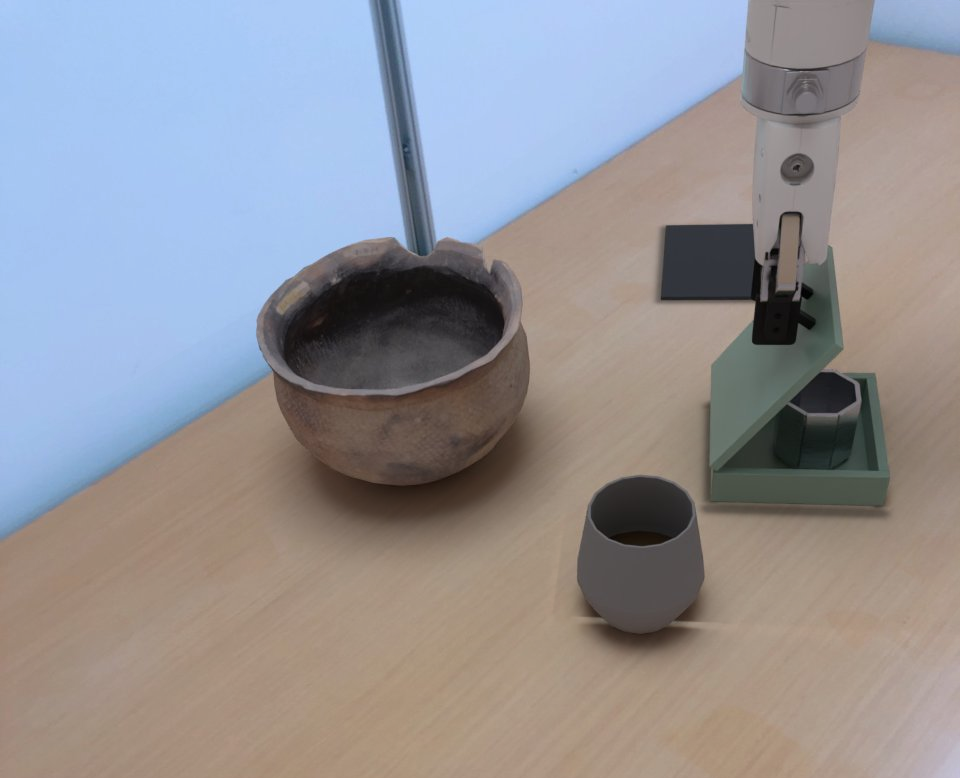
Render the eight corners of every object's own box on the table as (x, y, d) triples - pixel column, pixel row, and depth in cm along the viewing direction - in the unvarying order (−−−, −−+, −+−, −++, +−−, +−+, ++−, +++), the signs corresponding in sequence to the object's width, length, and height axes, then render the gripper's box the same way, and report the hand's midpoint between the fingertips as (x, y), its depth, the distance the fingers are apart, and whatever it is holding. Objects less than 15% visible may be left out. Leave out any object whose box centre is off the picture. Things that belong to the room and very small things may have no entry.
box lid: (832, 247, 86) (779, 211, 85) (844, 349, 78) (784, 310, 76) (718, 369, 96) (668, 339, 95) (716, 471, 88) (662, 440, 86)
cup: (722, 589, 85) (733, 491, 77) (665, 670, 80) (670, 575, 73) (615, 547, 89) (615, 451, 81) (555, 622, 84) (548, 528, 77)
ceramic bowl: (574, 401, 102) (568, 253, 91) (476, 558, 90) (455, 410, 78) (366, 360, 109) (337, 218, 98) (250, 500, 97) (201, 357, 86)
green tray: (868, 408, 97) (875, 372, 94) (881, 513, 89) (890, 477, 86) (711, 406, 99) (714, 371, 97) (709, 508, 91) (712, 473, 88)
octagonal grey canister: (846, 427, 95) (857, 369, 90) (851, 474, 91) (863, 416, 86) (772, 426, 96) (779, 368, 91) (774, 473, 92) (782, 415, 87)
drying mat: (797, 226, 118) (798, 223, 118) (803, 299, 109) (804, 296, 109) (665, 228, 120) (666, 225, 120) (660, 300, 111) (660, 296, 111)
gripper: (873, 135, 65) (829, 389, 78) (852, 19, 75) (817, 260, 89) (743, 138, 66) (721, 388, 80) (741, 24, 77) (722, 261, 90)
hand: (772, 318), depth 84 cm, fingers closed on box lid, 5 cm apart
